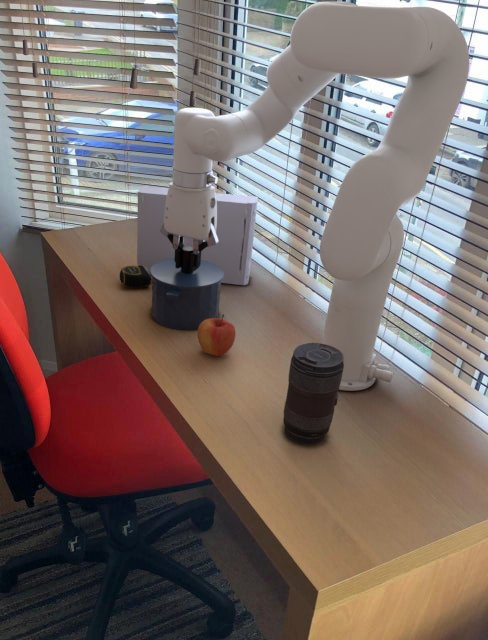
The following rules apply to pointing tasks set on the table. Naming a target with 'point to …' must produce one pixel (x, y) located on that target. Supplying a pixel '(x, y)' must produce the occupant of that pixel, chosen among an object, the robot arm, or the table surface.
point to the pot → (184, 305)
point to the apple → (216, 336)
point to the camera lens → (312, 392)
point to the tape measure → (134, 276)
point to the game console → (227, 254)
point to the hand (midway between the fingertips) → (187, 267)
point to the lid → (186, 272)
